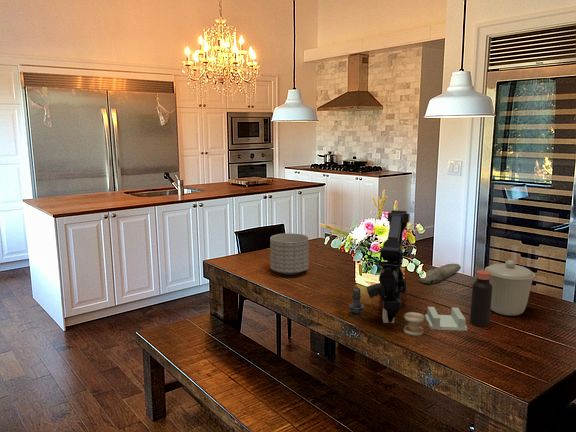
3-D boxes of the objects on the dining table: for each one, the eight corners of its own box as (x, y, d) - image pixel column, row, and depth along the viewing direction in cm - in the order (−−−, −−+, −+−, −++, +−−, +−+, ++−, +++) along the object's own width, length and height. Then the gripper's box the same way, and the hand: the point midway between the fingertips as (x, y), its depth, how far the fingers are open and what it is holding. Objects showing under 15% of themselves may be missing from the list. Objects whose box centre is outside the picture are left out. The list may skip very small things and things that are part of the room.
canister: (532, 307, 194) (537, 258, 190) (529, 323, 179) (534, 270, 174) (485, 299, 203) (489, 251, 199) (478, 314, 188) (482, 262, 183)
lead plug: (382, 318, 184) (383, 305, 182) (393, 318, 183) (393, 305, 182) (383, 322, 180) (384, 309, 179) (394, 323, 179) (394, 309, 178)
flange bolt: (353, 310, 191) (354, 281, 189) (366, 313, 188) (367, 285, 185) (345, 314, 187) (346, 285, 185) (358, 318, 183) (359, 289, 181)
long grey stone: (465, 273, 243) (447, 270, 250) (466, 263, 243) (447, 260, 249) (434, 286, 218) (414, 282, 225) (434, 275, 217) (414, 271, 224)
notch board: (424, 317, 184) (425, 306, 184) (459, 318, 183) (460, 307, 182) (430, 329, 174) (431, 318, 173) (467, 330, 173) (468, 319, 172)
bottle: (477, 327, 175) (482, 275, 171) (466, 320, 182) (469, 270, 178) (493, 325, 177) (497, 274, 173) (481, 318, 183) (485, 268, 179)
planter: (308, 278, 230) (308, 242, 226) (269, 278, 230) (269, 242, 226) (307, 267, 248) (308, 233, 245) (271, 266, 249) (271, 233, 245)
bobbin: (402, 327, 176) (403, 311, 174) (421, 327, 175) (422, 312, 174) (405, 335, 169) (405, 319, 168) (425, 336, 168) (426, 320, 167)
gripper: (366, 270, 188) (365, 307, 191) (370, 286, 170) (368, 326, 173) (395, 270, 187) (393, 308, 190) (402, 287, 169) (400, 328, 172)
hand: (388, 317), depth 181 cm, fingers open, 9 cm apart
